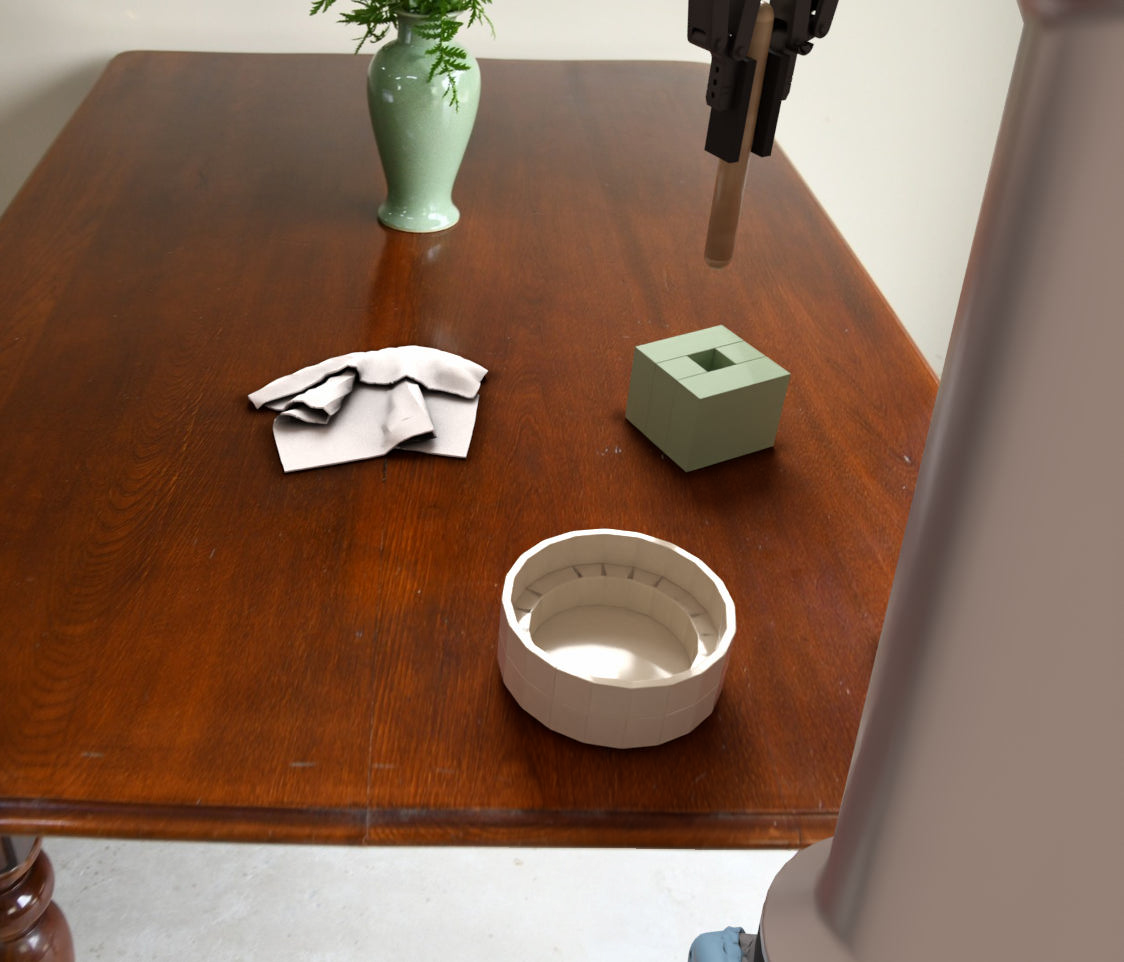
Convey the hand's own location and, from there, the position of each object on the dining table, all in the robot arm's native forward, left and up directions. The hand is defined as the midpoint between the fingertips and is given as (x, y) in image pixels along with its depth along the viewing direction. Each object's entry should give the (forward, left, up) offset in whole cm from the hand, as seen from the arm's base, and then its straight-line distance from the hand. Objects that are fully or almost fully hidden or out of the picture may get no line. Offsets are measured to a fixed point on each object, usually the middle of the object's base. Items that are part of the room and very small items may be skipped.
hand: (737, 152), depth 76 cm
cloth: (+18, +20, -26) cm, 38 cm away
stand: (+3, -4, -26) cm, 27 cm away
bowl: (-17, +18, -26) cm, 36 cm away
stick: (0, 0, -8) cm, 8 cm away
